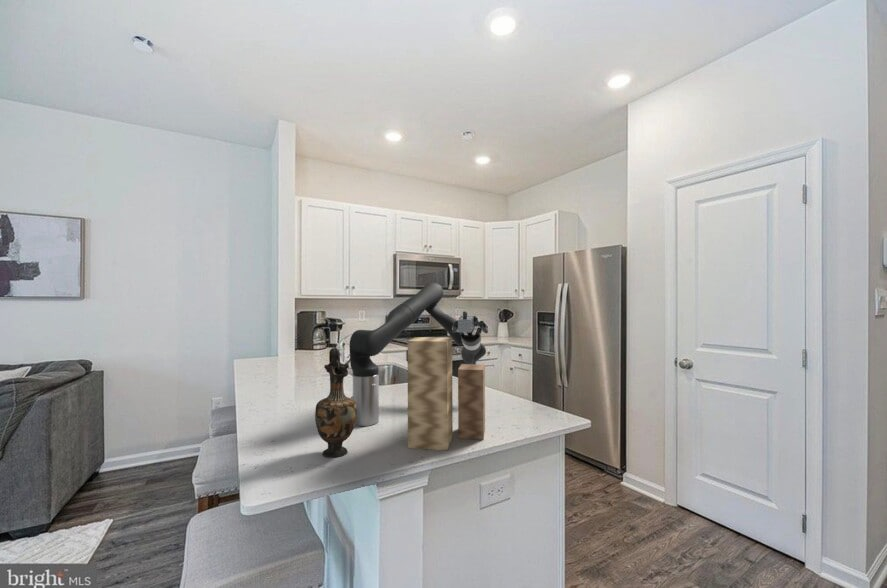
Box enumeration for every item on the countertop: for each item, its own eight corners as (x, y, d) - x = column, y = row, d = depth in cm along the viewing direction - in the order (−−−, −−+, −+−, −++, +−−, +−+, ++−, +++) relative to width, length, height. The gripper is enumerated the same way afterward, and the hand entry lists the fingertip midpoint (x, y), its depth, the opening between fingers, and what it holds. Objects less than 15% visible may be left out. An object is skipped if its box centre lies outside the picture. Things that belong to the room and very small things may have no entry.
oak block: (407, 448, 115) (407, 340, 115) (416, 434, 126) (415, 337, 126) (447, 450, 113) (447, 341, 113) (452, 436, 124) (452, 337, 124)
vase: (317, 464, 104) (317, 353, 104) (313, 447, 115) (313, 347, 116) (360, 456, 109) (360, 350, 109) (352, 441, 120) (352, 345, 120)
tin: (458, 332, 121) (457, 312, 121) (463, 326, 140) (463, 309, 140) (470, 332, 120) (470, 312, 120) (474, 326, 140) (474, 309, 140)
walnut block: (458, 438, 123) (458, 369, 123) (461, 427, 132) (461, 363, 133) (483, 439, 121) (483, 369, 122) (485, 428, 131) (484, 364, 131)
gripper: (453, 328, 152) (448, 308, 138) (489, 328, 150) (488, 308, 136) (452, 346, 149) (447, 327, 134) (489, 346, 147) (488, 328, 132)
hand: (468, 318), depth 135 cm, fingers closed on tin, 4 cm apart
